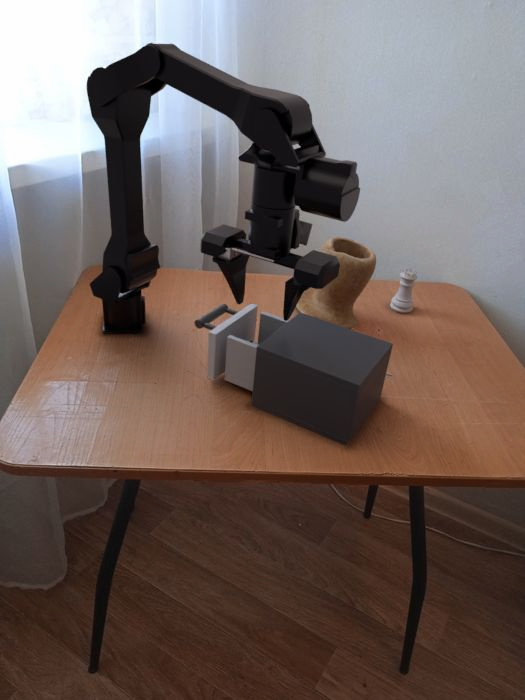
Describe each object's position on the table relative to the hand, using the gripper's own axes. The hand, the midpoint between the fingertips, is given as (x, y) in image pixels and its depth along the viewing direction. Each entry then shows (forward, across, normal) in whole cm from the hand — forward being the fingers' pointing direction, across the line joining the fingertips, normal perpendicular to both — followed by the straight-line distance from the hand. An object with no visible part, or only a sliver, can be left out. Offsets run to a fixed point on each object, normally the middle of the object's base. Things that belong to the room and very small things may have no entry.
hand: (262, 311), depth 80 cm
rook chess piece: (+12, -10, -38) cm, 41 cm away
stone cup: (+12, 0, -26) cm, 28 cm away
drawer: (+11, 0, 0) cm, 11 cm away
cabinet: (+12, -10, 0) cm, 15 cm away
